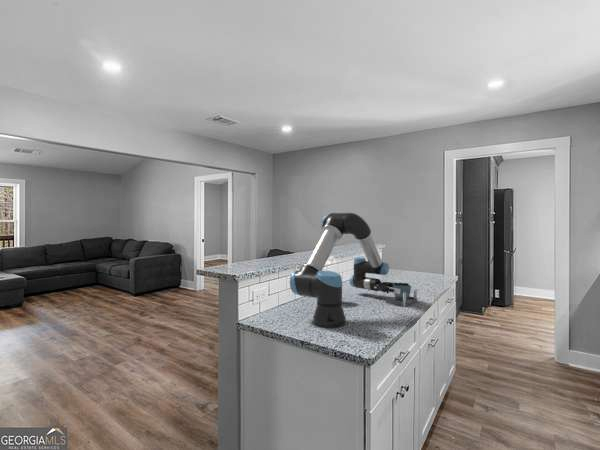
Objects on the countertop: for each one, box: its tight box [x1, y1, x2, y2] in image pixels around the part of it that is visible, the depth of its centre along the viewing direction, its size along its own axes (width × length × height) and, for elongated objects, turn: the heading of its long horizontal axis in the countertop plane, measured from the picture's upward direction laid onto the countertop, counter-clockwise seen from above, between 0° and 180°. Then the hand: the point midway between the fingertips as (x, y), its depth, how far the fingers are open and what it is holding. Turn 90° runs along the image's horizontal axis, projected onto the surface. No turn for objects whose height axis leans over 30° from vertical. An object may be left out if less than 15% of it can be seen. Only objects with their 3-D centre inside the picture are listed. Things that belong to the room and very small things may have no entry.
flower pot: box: [392, 282, 412, 301], centre depth 186 cm, size 9×9×9 cm
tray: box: [385, 288, 418, 307], centre depth 186 cm, size 15×12×8 cm
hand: (405, 289), depth 184 cm, fingers open, 12 cm apart
